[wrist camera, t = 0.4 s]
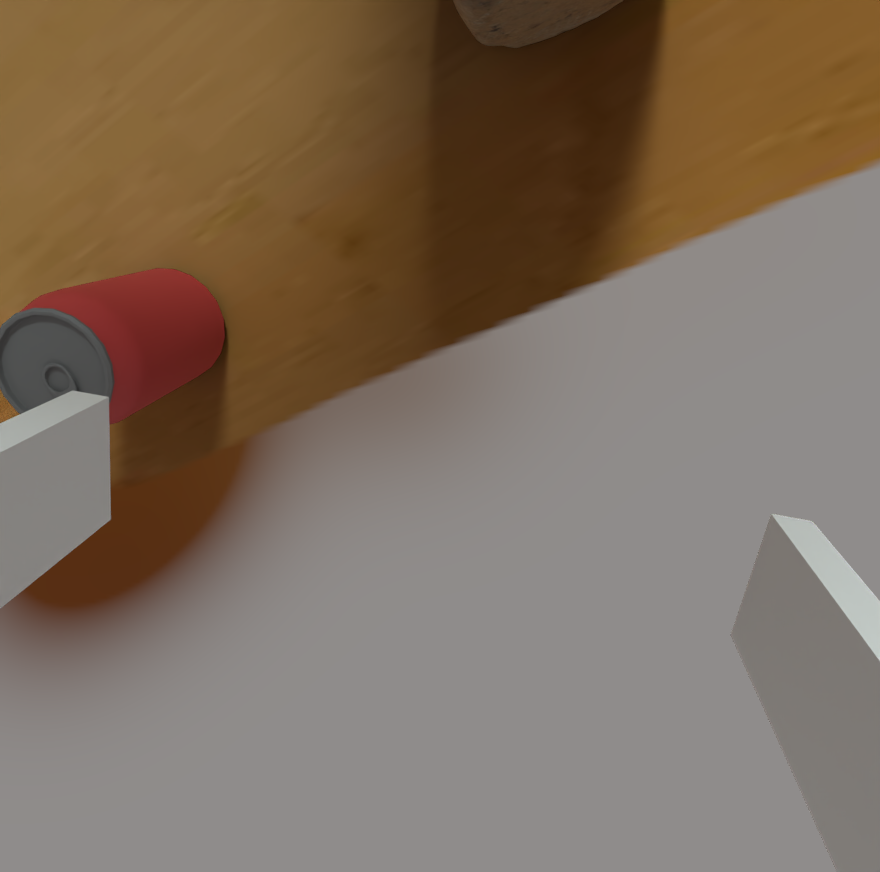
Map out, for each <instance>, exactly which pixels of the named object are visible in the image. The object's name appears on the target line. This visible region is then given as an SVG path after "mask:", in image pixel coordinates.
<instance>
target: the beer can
mask: <svg viewBox="0 0 880 872" xmlns="http://www.w3.org/2000/svg"><path fill="white" fill-rule="evenodd" d="M224 339H225V331H224V319H223V316H222V313H221V311H220V308H219V305H218V303H217V301H216V300H215V298H214V297H213V296H212V294H211V293H210V292H209V290H208V289H207V288H206V287H205V286H204V285H203V284H201V283H200V282H199V281H197V280H196V279H195V278H194V277H192V276H191V275H188V274H186V273H183V272H180V271H178V270H175V269H160V268H156V269H151V270H147V271H142V272H138V273H133V274H128V275H124V276H119V277H115V278H110V279H106V280H101V281H96V282H92V283H87V284H83V285H78V286H73V287H69V288H64V289H60V290H57V291H53V292H50V293H47V294H44V295H41V296H39V297H38V298H36V299H35V300H33V301H32V302H31V303H30V304H28V305H27V306H26V307H25V308H24V309H22V310H21V311H20V312H19V313H16V314H14V315H13V316H12V317H11V318H10V319H8V320H7V321H6V322H5V323H3V324H2V326H1V328H0V389H1V391H2V393H3V395H4V397H5V398H6V399H7V400H8V401H9V403H10V404H11V405H12V406H13V407H14V409H15V410H16V411H17V412H18V413H20V414H22V413H24V412H26V411H29V410H31V409H33V408H35V407H37V406H40V405H42V404H44V403H46V402H48V401H51V400H53V399H55V398H57V397H59V396H61V395H64V394H66V393H68V392H70V391H72V390H73V391H78V392H84V393H90V394H95V395H101V396H107V397H109V425H110V424H113V423H117V422H120V421H121V420H123V419H125V418H126V417H128V416H130V415H132V414H133V413H135V412H137V411H139V410H140V409H142V408H144V407H146V406H147V405H149V404H151V403H153V402H154V401H156V400H158V399H160V398H161V397H163V396H165V395H167V394H168V393H170V392H172V391H174V390H175V389H177V388H179V387H180V386H182V385H184V384H186V383H187V382H189V381H191V380H193V379H194V378H196V377H198V376H200V375H201V374H202V373H204V372H205V371H207V370H208V369H209V368H211V367H212V366H213V364H214V363H215V361H216V360H217V358H218V357H219V355H220V354H221V351H222V347H223V343H224Z"/></svg>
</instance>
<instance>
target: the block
mask: <svg viewBox="0 0 880 872" xmlns="http://www.w3.org/2000/svg"><path fill="white" fill-rule="evenodd" d="M622 1H624V0H453V2H454V4H455V7H456V9H457V12H458V14H459V15H460V17H461V18H462V20H463V21H464V23H465V24H466V26H467V27H468V29H469V30H470V31H471V33H472V34H473V36H474V37H475V38H476V39H477V40H478V41H479V42H480V43H482V44H484V45H486V46H501V45H503V46H507V47H511V48H519V47H522V46H526V45H529V44H533V43H536V42H539V41H542V40H545V39H548V38H551V37H554V36H556V35H558V34H561V33H563V32H565V31H568V30H571V29H574V28H576V27H578V26H579V25H581V24H583V23H586V22H588V21H590V20H593V19H595V18H597V17H599V16H600V15H601V14H603V13H605V12H607V11H608V10H610V9H611V8H613V7H614V6H616V5H617V4H619V3H620V2H622Z"/></svg>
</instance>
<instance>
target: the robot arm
mask: <svg viewBox="0 0 880 872" xmlns="http://www.w3.org/2000/svg"><path fill="white" fill-rule="evenodd" d="M109 520H111V497H110V433H109V397H107V396H101V395H95V394H90V393H84V392H78V391H73V390H72V391H70V392H68V393H66V394H64V395H61V396H59V397H57V398H55V399H53V400H51V401H48V402H46V403H44V404H42V405H40V406H37V407H35V408H33V409H31V410H29V411H26V412H24V413H22V414H20V415H18V416H15V417H13V418H11V419H9V420H7V421H4V422H2V423H0V609H1V608H2V607H3V606H4V605H5V604H7V603H8V602H9V601H10V600H12V599H13V598H14V597H15V596H17V595H18V594H19V593H20V592H22V591H23V590H24V589H25V588H27V587H28V586H29V585H30V584H31V583H32V582H34V581H35V580H36V579H38V578H39V577H40V576H41V575H43V574H44V573H45V572H46V571H48V570H49V569H50V568H51V567H53V566H54V565H55V564H56V563H57V562H59V561H60V560H61V559H62V558H64V557H65V556H66V555H67V554H69V553H70V552H71V551H72V550H74V549H75V548H76V547H77V546H79V545H80V544H81V543H82V542H83V541H85V540H86V539H87V538H88V537H90V536H91V535H92V534H93V533H95V532H96V531H97V530H98V529H99V528H101V527H102V526H103V525H104V524H106V523H107V522H108V521H109ZM731 637H732V639H733V642H734V643H735V646H736V648H737V650H738V653H739V655H740V657H741V659H742V662H743V664H744V666H745V668H746V670H747V672H748V675H749V677H750V679H751V682H752V684H753V686H754V688H755V691H756V693H757V695H758V697H759V700H760V702H761V704H762V706H763V708H764V711H765V713H766V715H767V717H768V720H769V722H770V724H771V726H772V728H773V731H774V733H775V735H776V737H777V739H778V742H779V744H780V746H781V749H782V750H783V753H784V755H785V757H786V760H787V762H788V764H789V766H790V768H791V771H792V773H793V775H794V777H795V780H796V782H797V784H798V786H799V789H800V790H801V793H802V795H803V797H804V800H805V802H806V804H807V806H808V809H809V811H810V813H811V815H812V818H813V820H814V822H815V824H816V826H817V829H818V831H819V833H820V835H821V838H822V840H823V842H824V844H825V846H826V849H827V851H828V853H829V855H830V858H831V860H832V862H833V864H834V866H835V869H836V870H837V872H880V601H879V600H878V599H877V598H876V596H875V595H874V594H873V593H872V591H871V590H870V589H869V588H868V587H867V585H865V583H864V582H863V581H862V580H861V578H860V577H859V576H858V575H857V574H856V572H855V571H854V570H853V569H852V568H851V567H850V565H849V564H848V563H847V562H846V561H845V559H844V558H843V557H842V556H841V555H840V553H839V552H838V551H837V550H836V549H835V548H834V546H833V545H832V544H831V543H830V542H829V540H828V539H827V538H826V537H825V536H824V535H823V533H822V532H821V531H820V530H819V528H818V527H817V526H816V525H815V524H814V523H813V521H809V520H803V519H798V518H792V517H786V516H781V515H775V514H771V516H770V519H769V522H768V525H767V528H766V531H765V534H764V537H763V540H762V543H761V546H760V549H759V552H758V555H757V558H756V561H755V564H754V567H753V570H752V573H751V576H750V579H749V582H748V585H747V588H746V591H745V594H744V597H743V600H742V603H741V606H740V609H739V612H738V615H737V618H736V621H735V624H734V627H733V630H732V632H731Z"/></svg>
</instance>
